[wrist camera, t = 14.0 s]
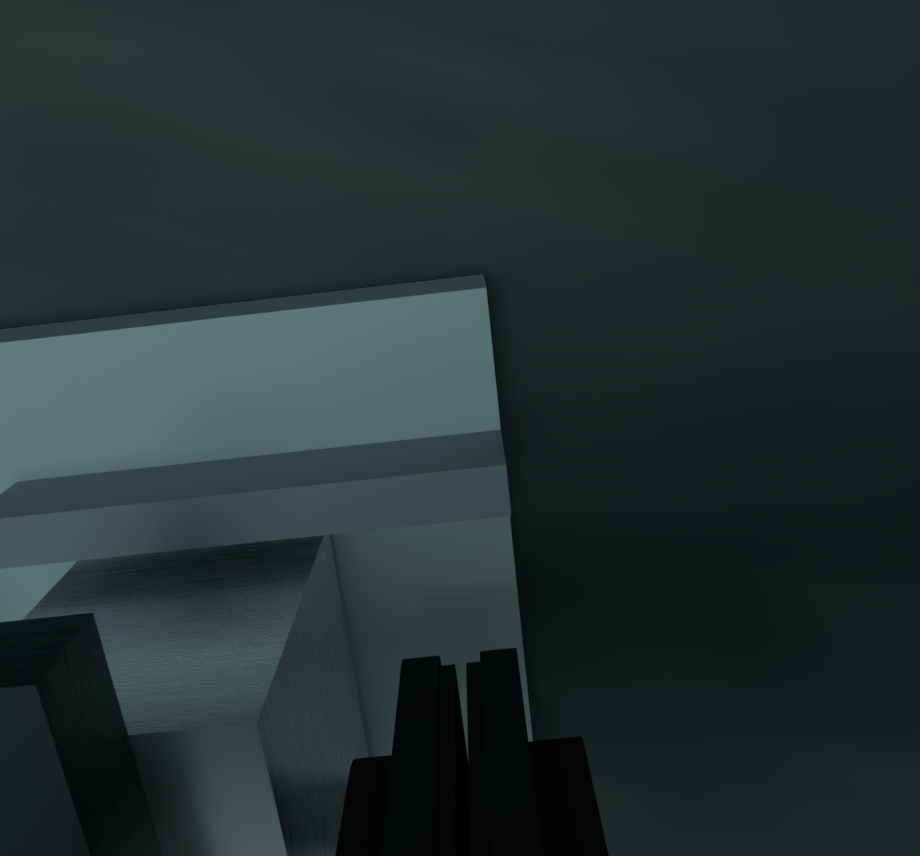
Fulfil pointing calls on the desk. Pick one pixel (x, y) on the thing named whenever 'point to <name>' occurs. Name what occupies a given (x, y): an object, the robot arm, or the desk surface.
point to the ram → (181, 707)
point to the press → (278, 460)
